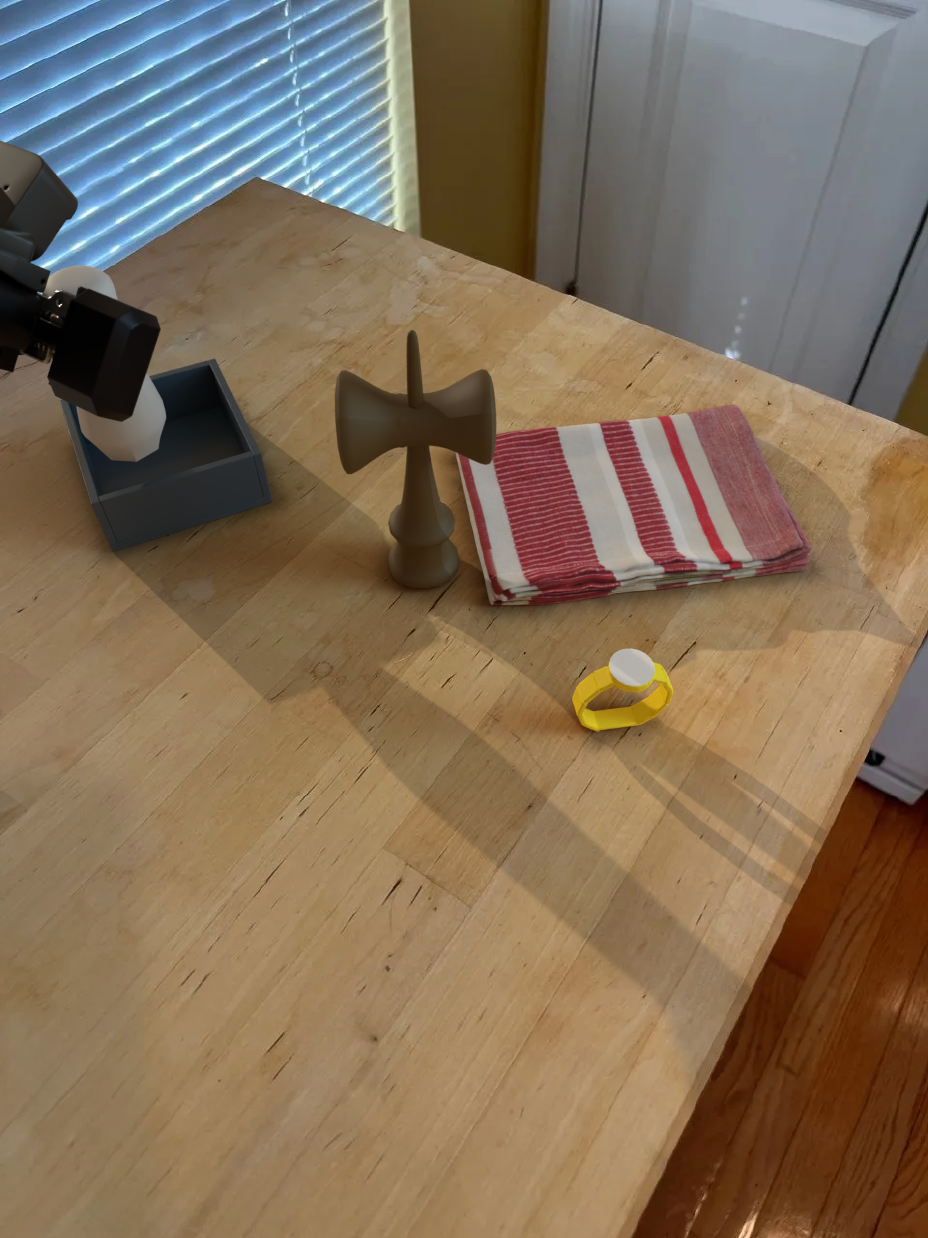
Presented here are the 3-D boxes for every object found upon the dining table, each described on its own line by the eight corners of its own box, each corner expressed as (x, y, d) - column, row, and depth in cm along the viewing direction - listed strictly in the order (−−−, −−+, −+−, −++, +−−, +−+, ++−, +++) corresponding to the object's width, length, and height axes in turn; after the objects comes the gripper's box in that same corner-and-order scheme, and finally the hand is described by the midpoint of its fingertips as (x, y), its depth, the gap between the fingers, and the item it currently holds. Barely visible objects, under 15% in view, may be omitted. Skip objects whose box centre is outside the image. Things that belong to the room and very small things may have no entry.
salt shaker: (85, 426, 68) (19, 261, 58) (165, 408, 69) (114, 243, 59) (96, 479, 64) (28, 313, 54) (179, 459, 66) (128, 293, 56)
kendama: (357, 539, 69) (326, 301, 54) (487, 533, 70) (494, 295, 54) (356, 602, 66) (322, 367, 50) (493, 596, 66) (502, 360, 50)
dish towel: (812, 572, 67) (823, 547, 65) (491, 615, 65) (492, 591, 63) (732, 418, 78) (739, 393, 76) (452, 451, 75) (452, 426, 73)
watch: (576, 746, 59) (586, 694, 54) (565, 709, 60) (573, 656, 56) (668, 731, 59) (685, 678, 55) (654, 694, 61) (670, 640, 56)
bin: (112, 552, 69) (91, 504, 65) (80, 449, 75) (58, 400, 71) (272, 502, 72) (261, 453, 68) (227, 407, 79) (214, 357, 75)
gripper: (78, 166, 43) (269, 272, 57) (-179, 73, 49) (53, 190, 63) (8, 398, 45) (210, 443, 60) (-230, 281, 51) (6, 348, 66)
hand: (117, 349), depth 62 cm, fingers closed on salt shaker, 3 cm apart
